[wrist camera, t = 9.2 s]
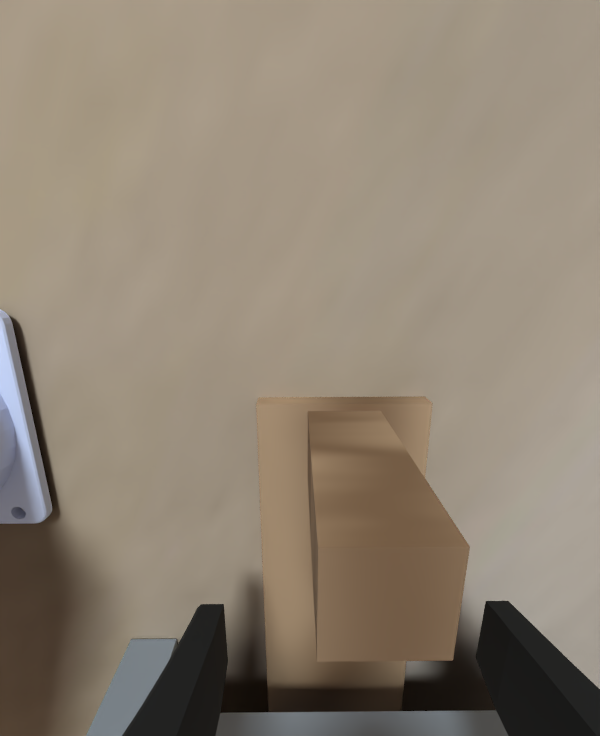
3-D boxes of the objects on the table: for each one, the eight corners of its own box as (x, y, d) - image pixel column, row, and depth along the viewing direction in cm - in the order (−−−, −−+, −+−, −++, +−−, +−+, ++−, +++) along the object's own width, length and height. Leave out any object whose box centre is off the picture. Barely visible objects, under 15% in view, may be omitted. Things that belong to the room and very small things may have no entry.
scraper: (273, 790, 17) (258, 1099, 11) (258, 396, 12) (210, 536, 5) (386, 789, 17) (440, 1096, 11) (423, 395, 12) (578, 533, 5)
